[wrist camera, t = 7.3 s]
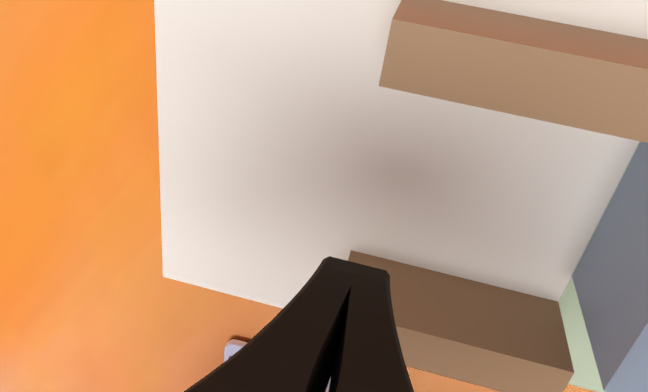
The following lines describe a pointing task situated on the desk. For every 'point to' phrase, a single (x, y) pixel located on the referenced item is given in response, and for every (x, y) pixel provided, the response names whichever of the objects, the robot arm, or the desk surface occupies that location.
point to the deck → (405, 162)
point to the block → (619, 283)
